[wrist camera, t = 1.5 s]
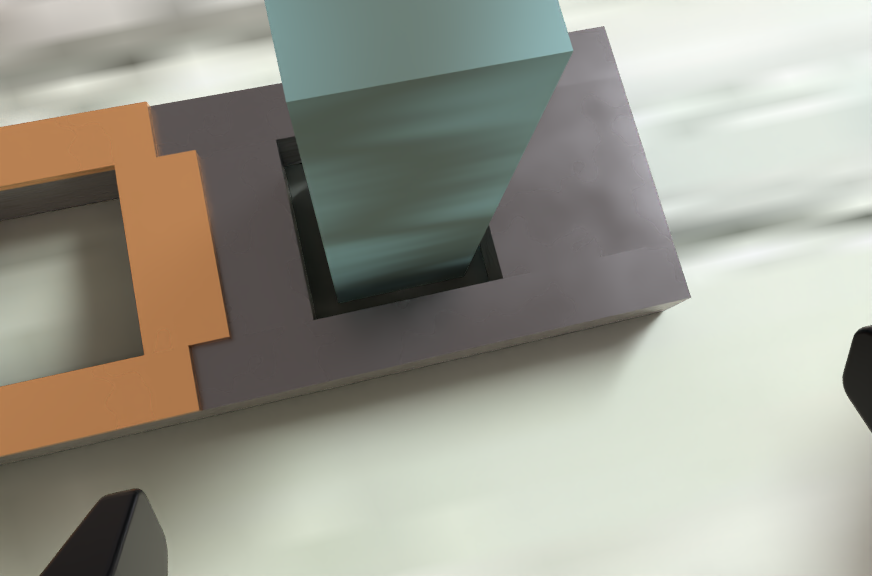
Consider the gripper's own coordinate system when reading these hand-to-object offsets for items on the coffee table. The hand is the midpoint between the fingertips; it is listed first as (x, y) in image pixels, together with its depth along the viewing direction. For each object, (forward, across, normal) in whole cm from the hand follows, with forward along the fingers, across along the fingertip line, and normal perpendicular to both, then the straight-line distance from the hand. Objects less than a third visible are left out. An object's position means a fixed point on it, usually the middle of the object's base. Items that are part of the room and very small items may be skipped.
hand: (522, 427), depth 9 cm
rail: (+14, +5, +4) cm, 15 cm away
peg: (+14, 0, +4) cm, 15 cm away
